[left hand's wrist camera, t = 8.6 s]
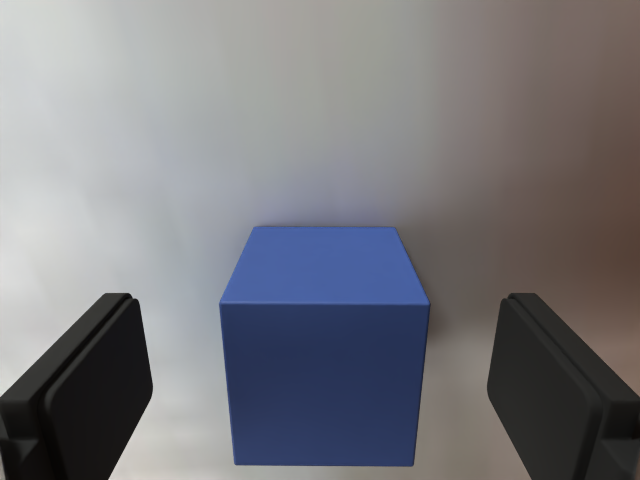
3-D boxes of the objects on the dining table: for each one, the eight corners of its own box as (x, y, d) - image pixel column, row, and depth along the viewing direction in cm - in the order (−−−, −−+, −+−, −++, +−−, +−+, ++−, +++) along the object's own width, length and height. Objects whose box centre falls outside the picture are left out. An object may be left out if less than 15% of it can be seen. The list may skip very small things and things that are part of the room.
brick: (253, 226, 13) (218, 301, 8) (395, 226, 13) (431, 303, 8) (260, 350, 14) (233, 466, 10) (387, 350, 14) (414, 467, 10)
